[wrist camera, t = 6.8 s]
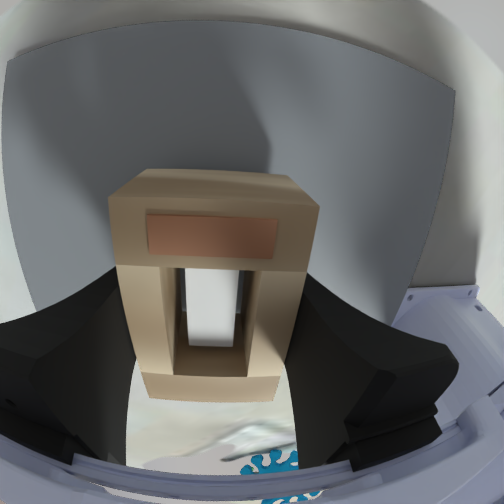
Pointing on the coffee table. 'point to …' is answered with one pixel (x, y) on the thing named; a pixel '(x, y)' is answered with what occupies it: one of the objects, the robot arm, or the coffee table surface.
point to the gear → (275, 471)
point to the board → (223, 151)
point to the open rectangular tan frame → (211, 257)
